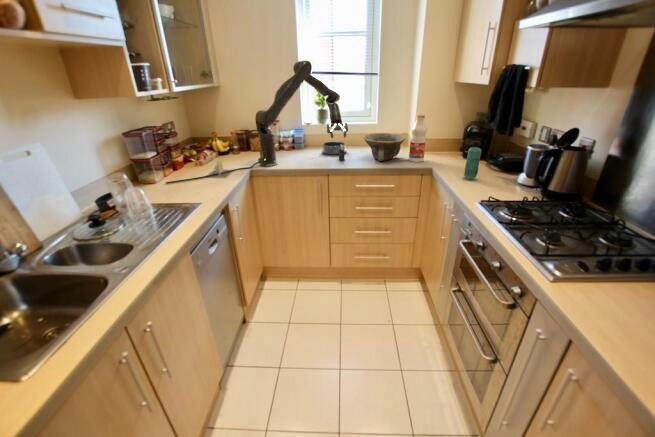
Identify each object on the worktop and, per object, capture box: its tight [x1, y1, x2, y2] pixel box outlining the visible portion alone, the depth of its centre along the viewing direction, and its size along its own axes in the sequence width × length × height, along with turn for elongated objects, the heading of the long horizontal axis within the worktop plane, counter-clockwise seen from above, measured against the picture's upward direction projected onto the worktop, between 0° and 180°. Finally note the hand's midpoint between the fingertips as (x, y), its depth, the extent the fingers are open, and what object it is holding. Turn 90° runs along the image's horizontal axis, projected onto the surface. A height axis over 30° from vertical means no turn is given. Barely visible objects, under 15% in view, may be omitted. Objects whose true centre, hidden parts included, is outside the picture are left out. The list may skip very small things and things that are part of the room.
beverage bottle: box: [463, 140, 483, 179], centre depth 164 cm, size 6×7×20 cm
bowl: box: [363, 132, 406, 162], centre depth 206 cm, size 27×26×15 cm
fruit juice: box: [408, 114, 428, 163], centre depth 199 cm, size 9×9×28 cm
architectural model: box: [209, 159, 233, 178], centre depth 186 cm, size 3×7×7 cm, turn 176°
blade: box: [338, 144, 345, 162], centre depth 207 cm, size 3×5×10 cm, turn 9°
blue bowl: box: [322, 141, 347, 155], centre depth 229 cm, size 17×17×6 cm
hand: (338, 137), depth 212 cm, fingers open, 8 cm apart
